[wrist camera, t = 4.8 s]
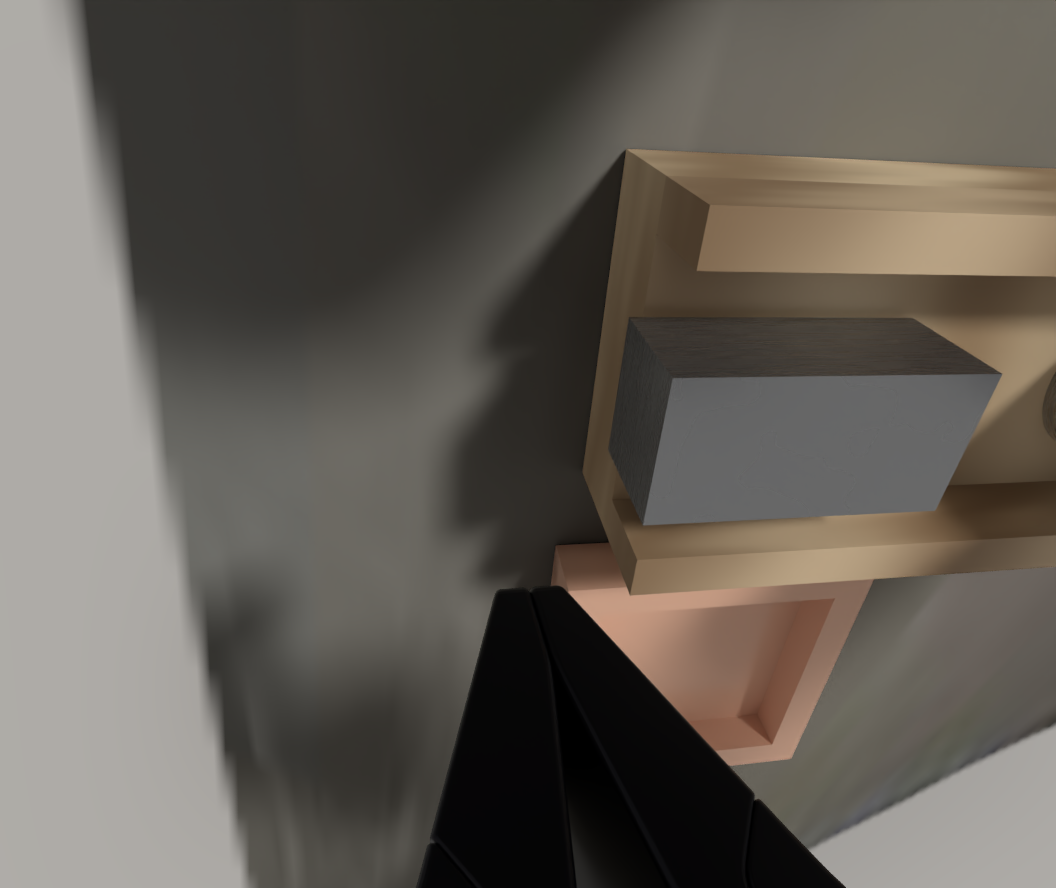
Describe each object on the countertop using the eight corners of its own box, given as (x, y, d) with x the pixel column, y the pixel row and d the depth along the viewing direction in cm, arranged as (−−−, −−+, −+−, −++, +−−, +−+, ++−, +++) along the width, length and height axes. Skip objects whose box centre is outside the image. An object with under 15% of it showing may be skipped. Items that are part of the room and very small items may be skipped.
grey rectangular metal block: (912, 317, 14) (1002, 373, 12) (863, 442, 15) (935, 511, 13) (628, 317, 13) (672, 378, 11) (607, 450, 14) (643, 525, 12)
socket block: (1262, 178, 17) (1514, 231, 13) (1093, 454, 21) (1244, 554, 17) (626, 148, 14) (710, 205, 10) (582, 472, 18) (630, 595, 14)
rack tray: (843, 529, 21) (877, 570, 19) (768, 714, 26) (790, 758, 24) (555, 545, 19) (568, 591, 18) (533, 738, 24) (541, 787, 23)
